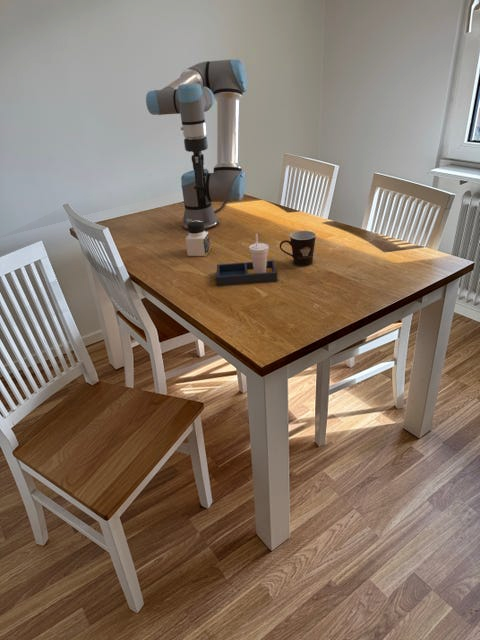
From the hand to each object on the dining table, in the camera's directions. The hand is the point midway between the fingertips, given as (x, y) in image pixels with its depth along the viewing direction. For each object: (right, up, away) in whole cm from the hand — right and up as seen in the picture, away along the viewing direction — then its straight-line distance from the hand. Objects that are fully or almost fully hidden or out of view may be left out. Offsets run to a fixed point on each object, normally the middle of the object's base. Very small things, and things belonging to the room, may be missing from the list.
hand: (202, 201), depth 159 cm
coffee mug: (+34, -22, 0) cm, 40 cm away
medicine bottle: (-3, -16, +14) cm, 21 cm away
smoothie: (+20, -26, -8) cm, 34 cm away
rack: (+15, -27, -7) cm, 32 cm away
